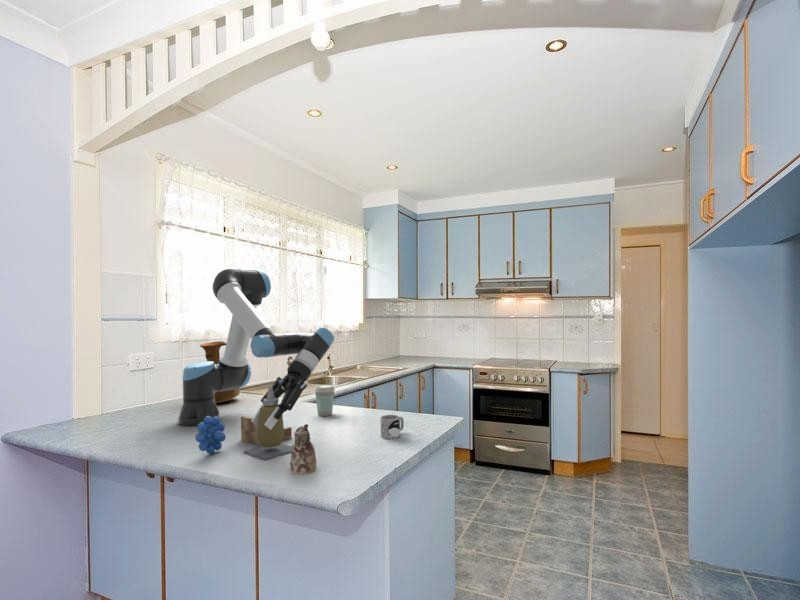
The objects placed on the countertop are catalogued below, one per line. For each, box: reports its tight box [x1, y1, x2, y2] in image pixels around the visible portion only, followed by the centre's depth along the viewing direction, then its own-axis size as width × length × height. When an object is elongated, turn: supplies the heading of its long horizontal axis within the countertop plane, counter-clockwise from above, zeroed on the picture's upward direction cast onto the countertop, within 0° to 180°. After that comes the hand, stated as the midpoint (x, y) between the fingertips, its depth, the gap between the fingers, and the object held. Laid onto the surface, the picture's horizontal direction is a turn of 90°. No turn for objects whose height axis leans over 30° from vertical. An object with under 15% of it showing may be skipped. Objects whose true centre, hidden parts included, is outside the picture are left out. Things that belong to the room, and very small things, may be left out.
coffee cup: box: [314, 384, 336, 417], centre depth 184 cm, size 8×8×12 cm
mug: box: [380, 414, 405, 440], centre depth 152 cm, size 10×7×7 cm, turn 137°
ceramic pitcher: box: [199, 340, 241, 404], centre depth 215 cm, size 20×20×30 cm
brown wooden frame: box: [240, 415, 293, 447], centre depth 151 cm, size 12×12×8 cm
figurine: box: [289, 423, 317, 475], centre depth 121 cm, size 7×7×12 cm
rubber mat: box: [242, 442, 293, 461], centre depth 137 cm, size 12×12×1 cm
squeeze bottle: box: [258, 386, 285, 447], centre depth 137 cm, size 8×8×18 cm
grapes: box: [194, 416, 227, 455], centre depth 135 cm, size 12×7×12 cm, turn 160°
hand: (260, 425), depth 134 cm, fingers closed on squeeze bottle, 6 cm apart
